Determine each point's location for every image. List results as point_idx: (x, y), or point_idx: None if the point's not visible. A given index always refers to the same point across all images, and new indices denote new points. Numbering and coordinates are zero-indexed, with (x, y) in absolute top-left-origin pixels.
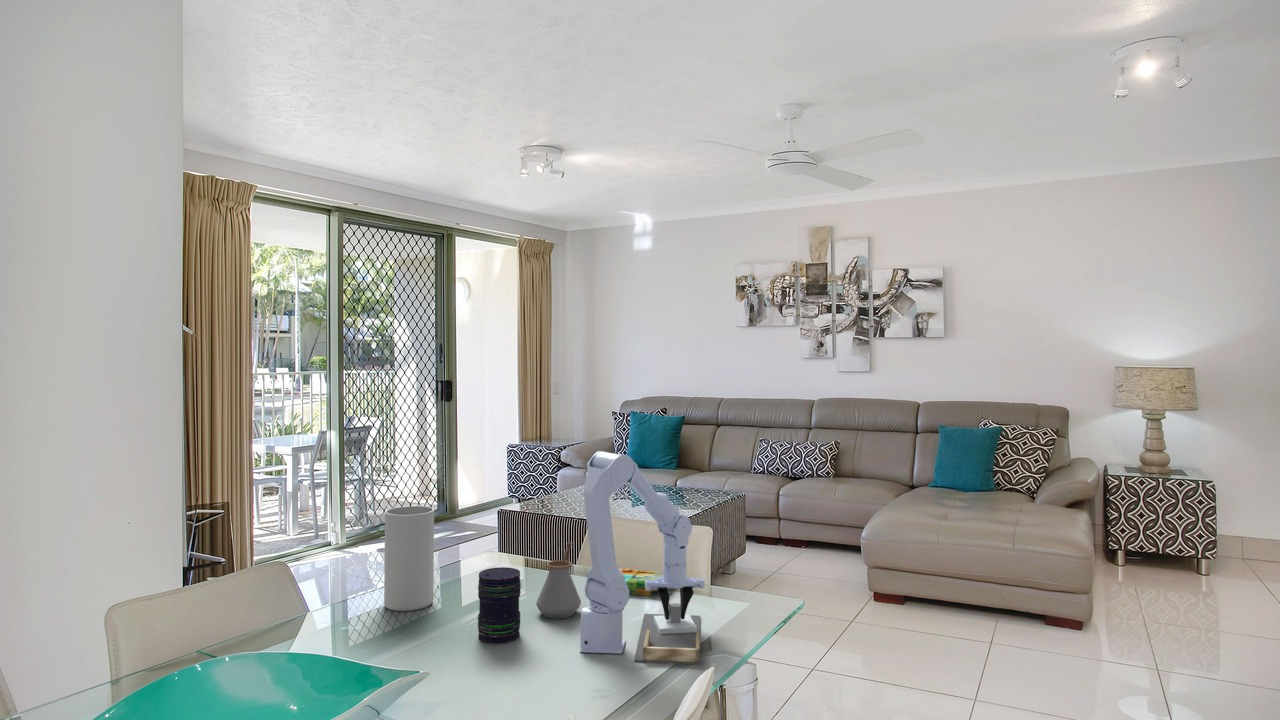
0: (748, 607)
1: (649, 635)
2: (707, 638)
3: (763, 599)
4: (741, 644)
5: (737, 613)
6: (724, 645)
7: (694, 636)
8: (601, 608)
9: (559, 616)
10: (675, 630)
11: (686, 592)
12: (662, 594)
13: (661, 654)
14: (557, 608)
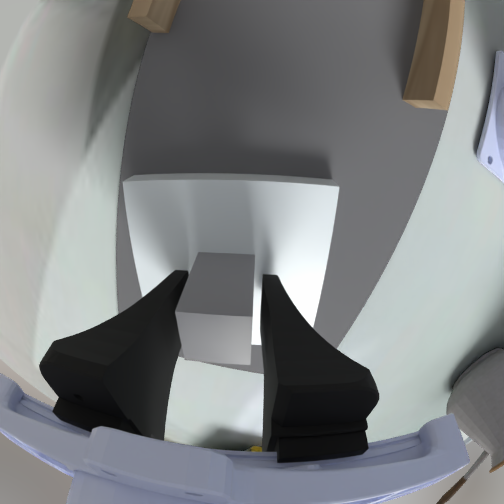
0: (29, 348)
1: (435, 60)
2: (101, 115)
3: (22, 368)
4: (18, 69)
5: (37, 327)
6: (62, 46)
7: (154, 116)
8: None
9: (499, 350)
10: (244, 177)
11: (82, 371)
12: (362, 384)
13: None
14: None
